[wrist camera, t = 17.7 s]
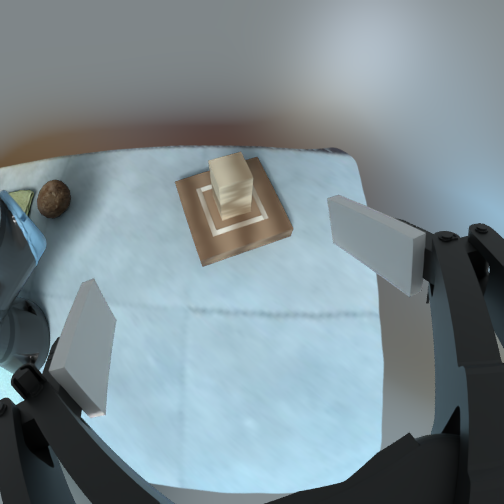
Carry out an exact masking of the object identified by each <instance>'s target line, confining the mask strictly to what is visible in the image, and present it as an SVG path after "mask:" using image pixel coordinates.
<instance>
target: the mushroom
mask: <svg viewBox="0 0 504 504" xmlns="http://www.w3.org/2000/svg"><path fill="white" fill-rule="evenodd" d="M70 200H71V195H70V190H69V189H68V187H67V185H66V184H64V183H63V182H62V181H59V180H52V181H48V182H47V183H46V184H45V185H44V186H43V187H42V189H41V190H40V192H39V195H38V199H37V207H38V210H39V211H40V213H41V214H42V215H43V216H45V217H47V218H56V217H58V216H60V215H61V214H62V213H63V212H65V210H66V209H67V208H68V206H69V204H70Z"/></svg>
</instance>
